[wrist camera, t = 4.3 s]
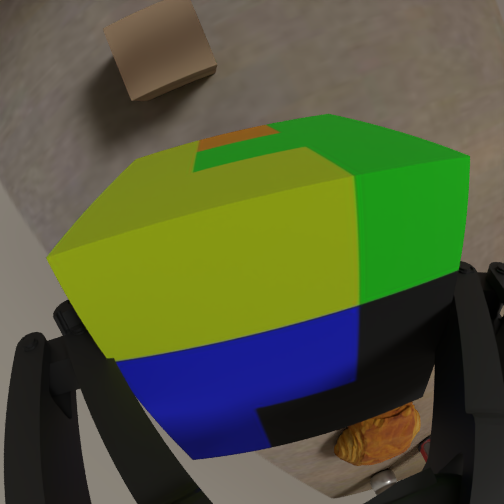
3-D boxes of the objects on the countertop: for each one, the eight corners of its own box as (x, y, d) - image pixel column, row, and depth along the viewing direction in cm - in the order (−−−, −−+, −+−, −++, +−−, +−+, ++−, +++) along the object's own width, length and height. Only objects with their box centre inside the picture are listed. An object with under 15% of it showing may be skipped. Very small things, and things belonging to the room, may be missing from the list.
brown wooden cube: (124, 42, 17) (102, 28, 12) (190, 14, 16) (186, -9, 12) (148, 100, 19) (131, 100, 15) (215, 73, 19) (217, 64, 14)
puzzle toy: (192, 313, 19) (193, 459, 11) (136, 159, 14) (46, 257, 6) (345, 274, 19) (422, 396, 11) (328, 113, 15) (469, 156, 6)
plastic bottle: (388, 472, 61) (411, 529, 44) (365, 480, 61) (387, 540, 43) (394, 464, 58) (420, 524, 41) (370, 472, 58) (394, 536, 40)
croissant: (393, 423, 49) (412, 453, 43) (324, 452, 46) (341, 487, 39) (423, 379, 43) (449, 412, 36) (344, 411, 39) (369, 454, 32)
